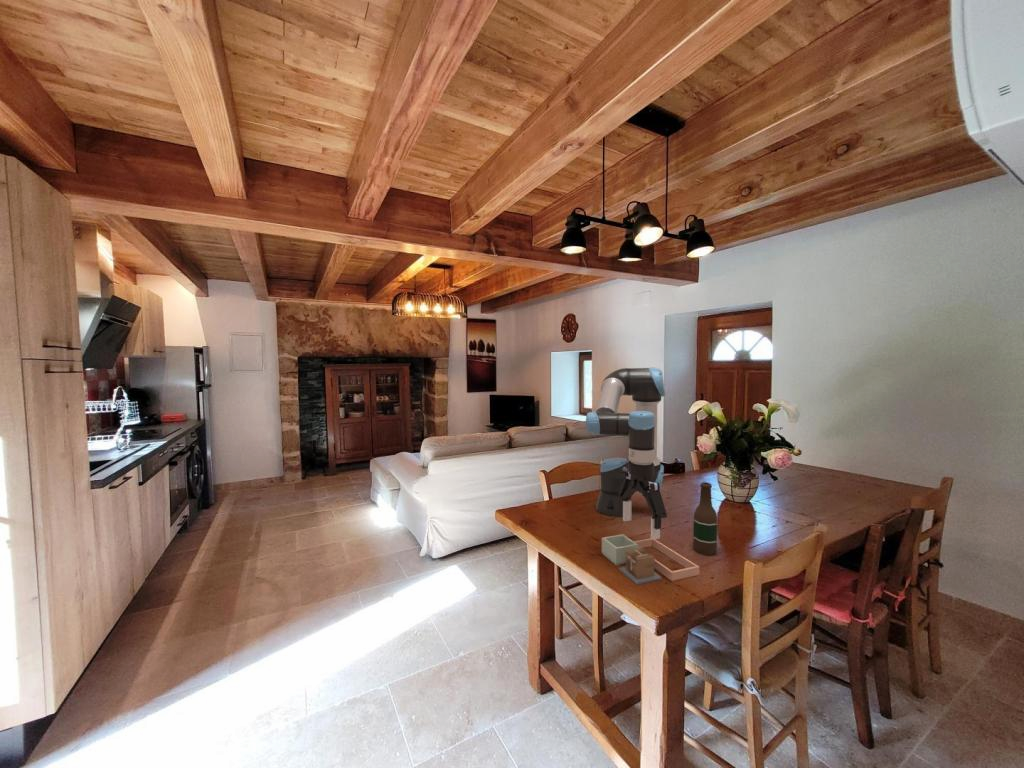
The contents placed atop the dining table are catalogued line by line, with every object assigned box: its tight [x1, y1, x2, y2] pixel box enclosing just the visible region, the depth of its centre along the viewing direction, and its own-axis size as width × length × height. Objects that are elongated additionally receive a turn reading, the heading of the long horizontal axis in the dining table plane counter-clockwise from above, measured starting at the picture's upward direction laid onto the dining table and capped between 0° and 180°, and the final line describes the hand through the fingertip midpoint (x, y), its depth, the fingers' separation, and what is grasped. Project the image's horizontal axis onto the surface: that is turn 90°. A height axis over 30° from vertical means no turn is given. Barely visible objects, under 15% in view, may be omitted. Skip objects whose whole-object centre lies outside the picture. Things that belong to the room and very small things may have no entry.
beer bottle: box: [692, 481, 718, 557], centre depth 134 cm, size 8×8×24 cm
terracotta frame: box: [633, 537, 701, 582], centre depth 127 cm, size 22×11×2 cm, turn 19°
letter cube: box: [625, 548, 655, 579], centre depth 119 cm, size 6×6×6 cm
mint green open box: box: [601, 533, 638, 566], centre depth 130 cm, size 9×9×6 cm
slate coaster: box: [618, 566, 663, 586], centre depth 119 cm, size 9×9×1 cm
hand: (640, 529), depth 119 cm, fingers open, 13 cm apart
